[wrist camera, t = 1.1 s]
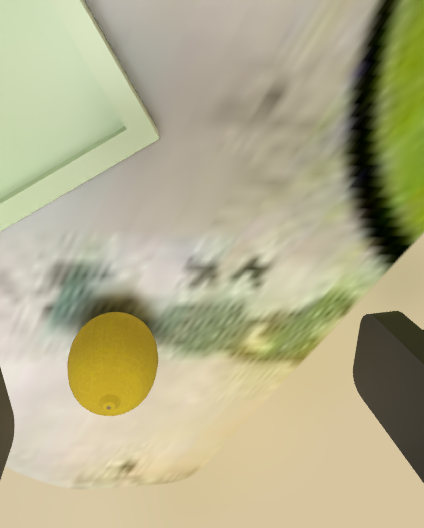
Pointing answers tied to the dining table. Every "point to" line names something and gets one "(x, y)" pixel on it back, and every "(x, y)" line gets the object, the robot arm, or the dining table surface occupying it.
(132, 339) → the lemon
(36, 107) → the tray
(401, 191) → the dining table surface
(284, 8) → the dining table surface
